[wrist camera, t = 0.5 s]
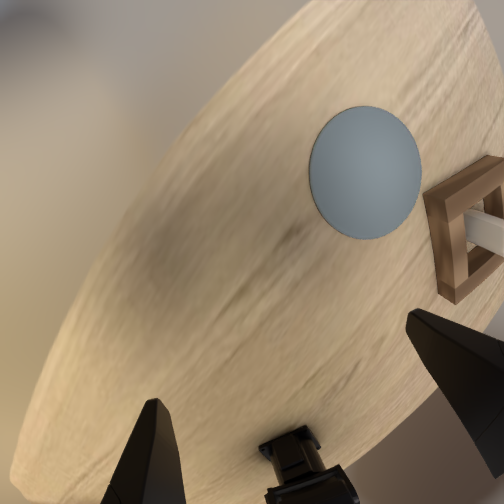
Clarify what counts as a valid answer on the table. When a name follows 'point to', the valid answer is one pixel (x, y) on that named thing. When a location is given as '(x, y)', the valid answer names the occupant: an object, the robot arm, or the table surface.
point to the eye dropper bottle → (484, 230)
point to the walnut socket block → (453, 229)
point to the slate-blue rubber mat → (365, 172)
